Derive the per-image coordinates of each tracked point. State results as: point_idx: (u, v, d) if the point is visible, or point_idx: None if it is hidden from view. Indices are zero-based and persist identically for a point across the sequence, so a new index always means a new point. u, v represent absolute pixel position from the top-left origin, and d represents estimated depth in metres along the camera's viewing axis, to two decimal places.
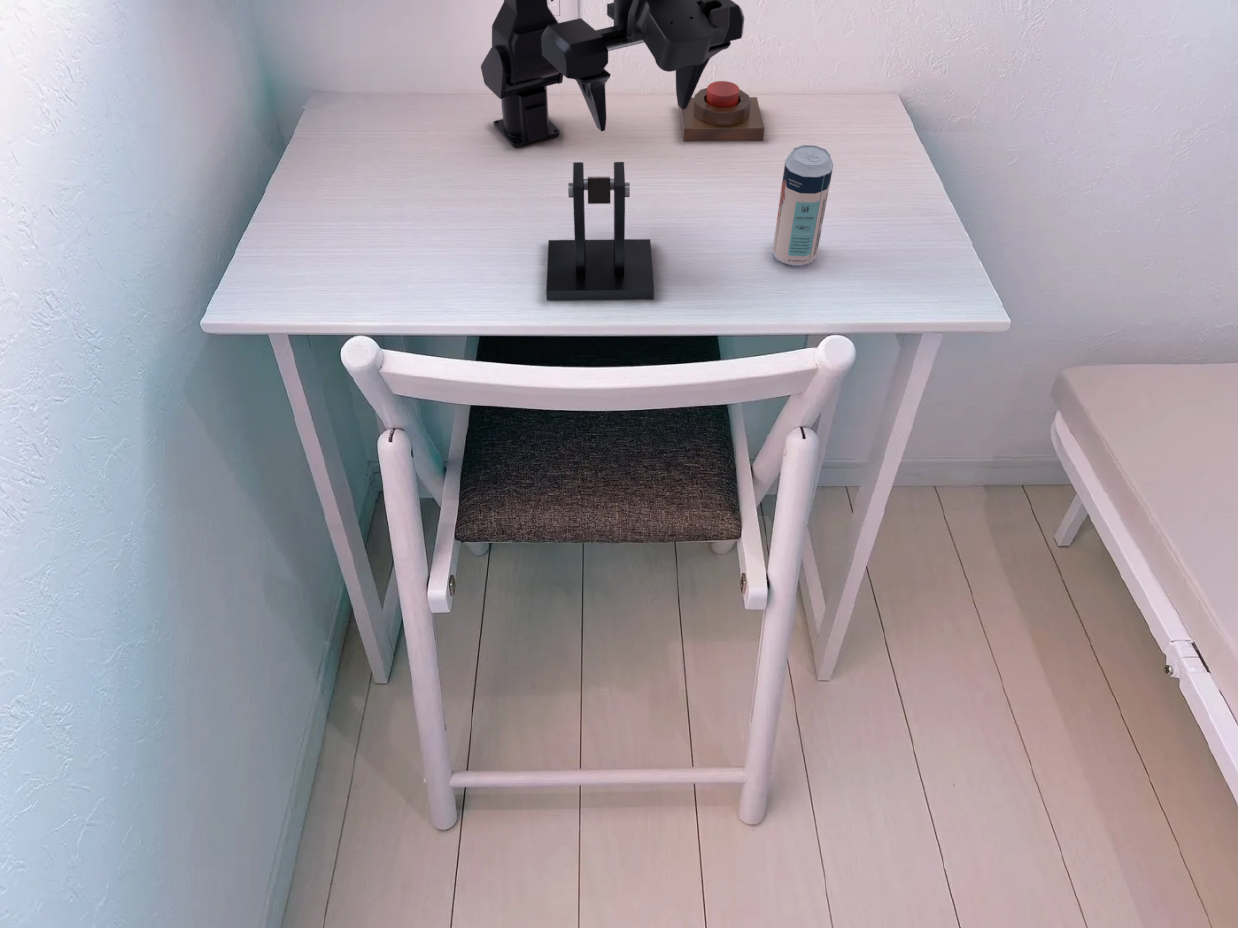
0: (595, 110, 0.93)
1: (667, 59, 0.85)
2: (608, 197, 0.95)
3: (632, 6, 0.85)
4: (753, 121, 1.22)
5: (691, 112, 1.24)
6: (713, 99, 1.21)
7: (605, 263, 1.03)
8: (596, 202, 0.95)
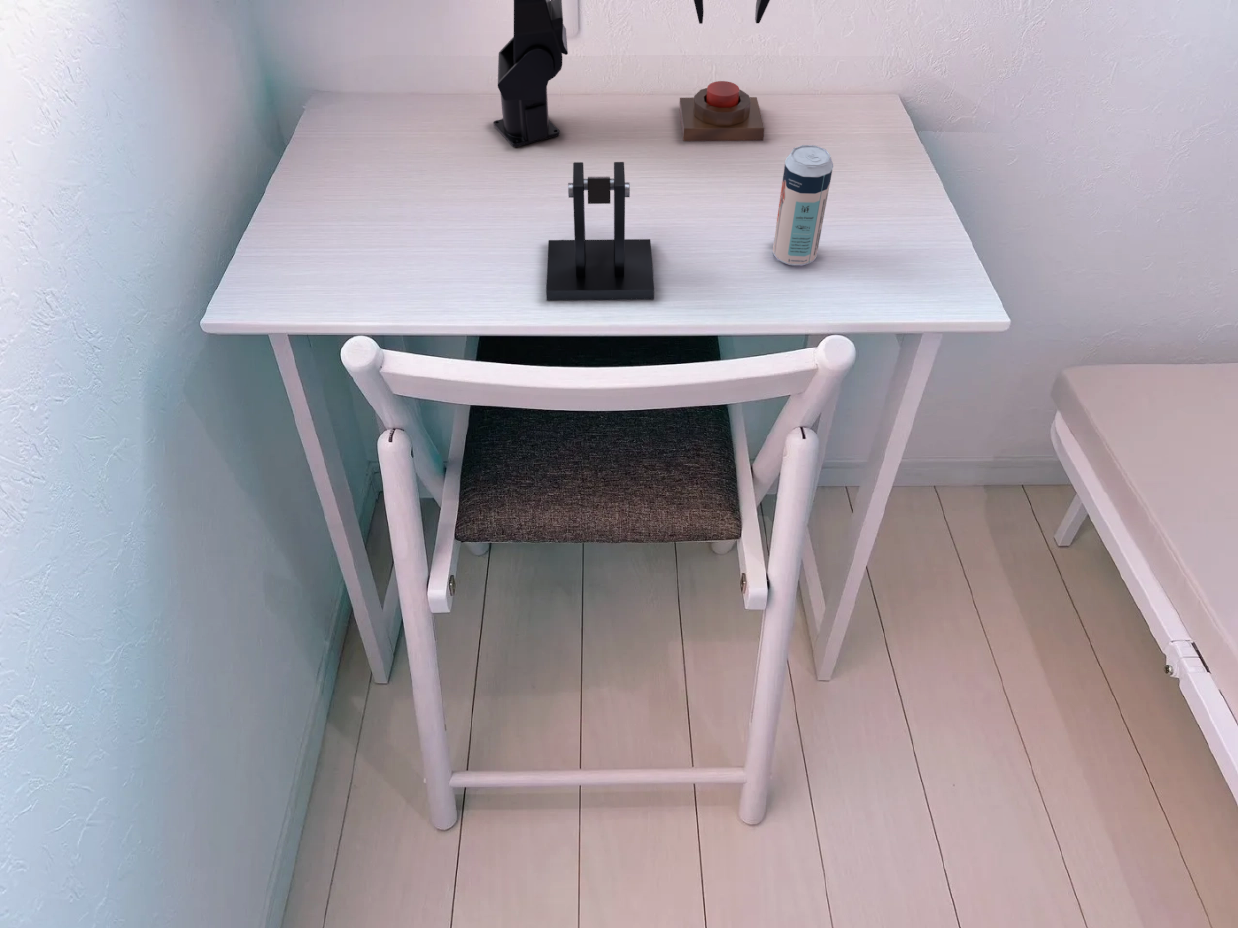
0: None
1: None
2: (608, 197, 0.95)
3: None
4: (753, 121, 1.22)
5: (691, 112, 1.24)
6: (713, 99, 1.21)
7: (605, 263, 1.03)
8: (596, 202, 0.95)
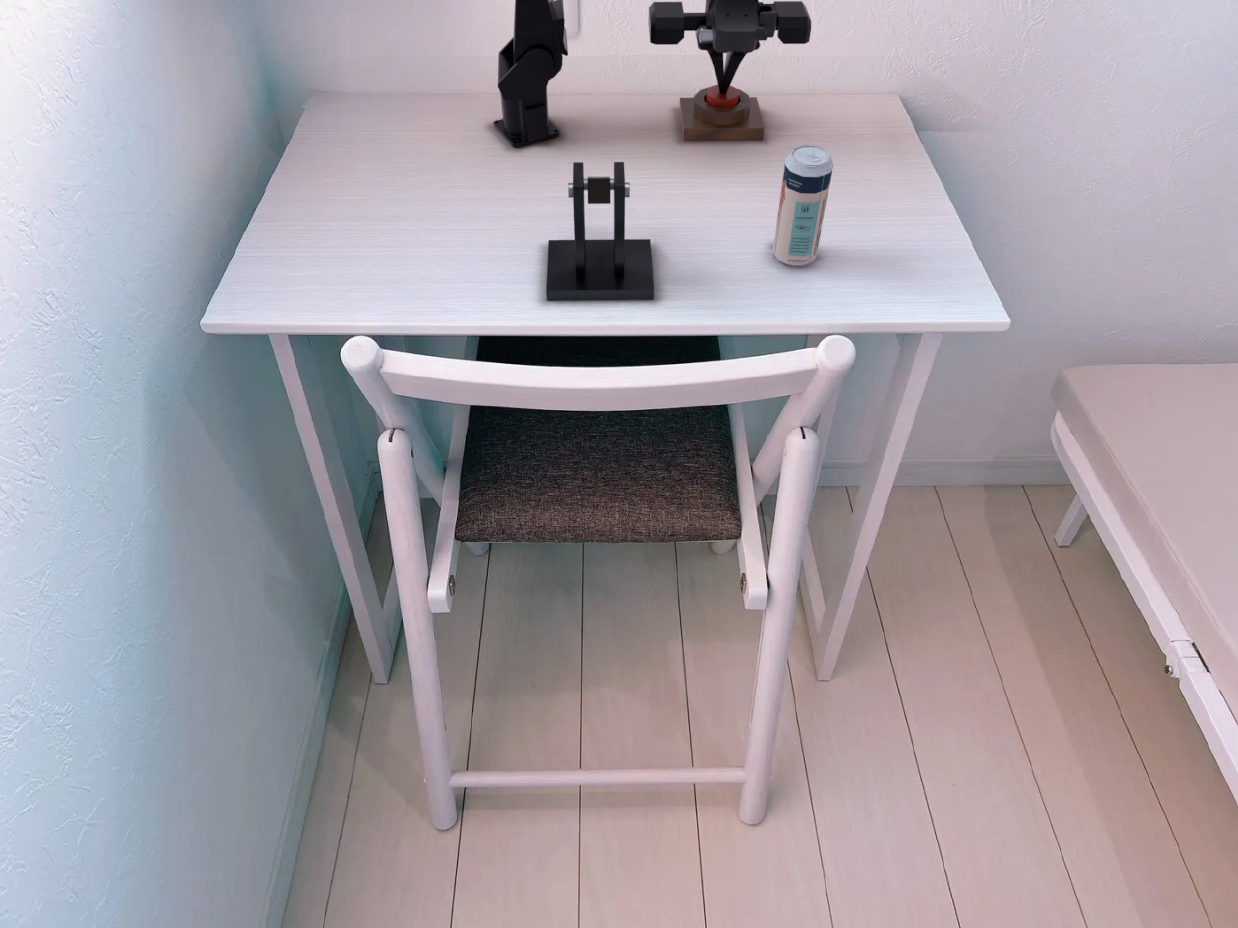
0: None
1: (717, 42, 1.10)
2: (608, 197, 0.95)
3: None
4: (753, 121, 1.22)
5: (691, 112, 1.24)
6: (712, 103, 1.21)
7: (605, 263, 1.03)
8: (596, 202, 0.95)
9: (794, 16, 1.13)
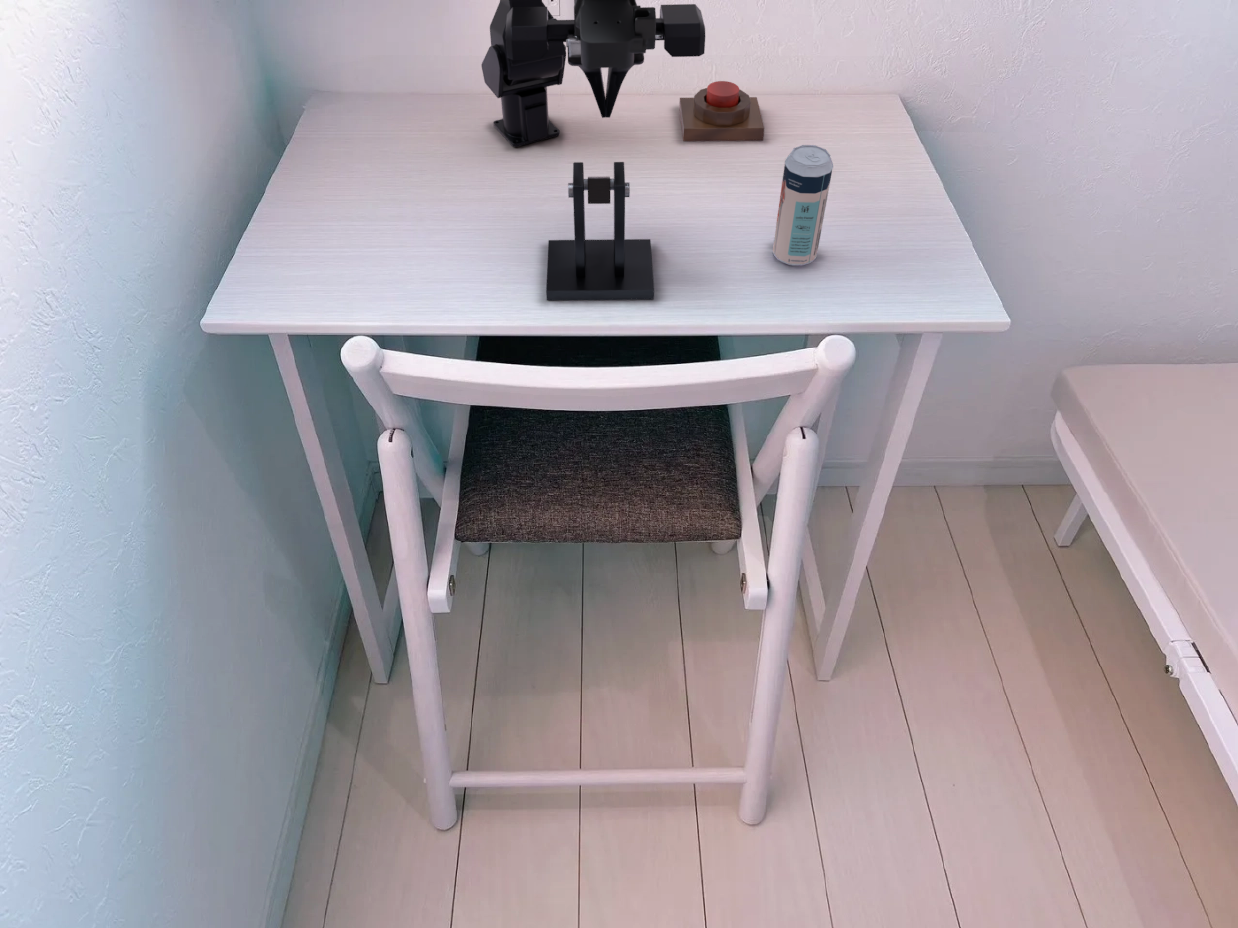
0: (594, 95, 0.98)
1: (584, 56, 0.88)
2: (608, 197, 0.95)
3: (575, 2, 0.89)
4: (753, 121, 1.22)
5: (691, 112, 1.24)
6: (713, 99, 1.21)
7: (605, 263, 1.03)
8: (596, 202, 0.95)
9: (683, 22, 0.91)
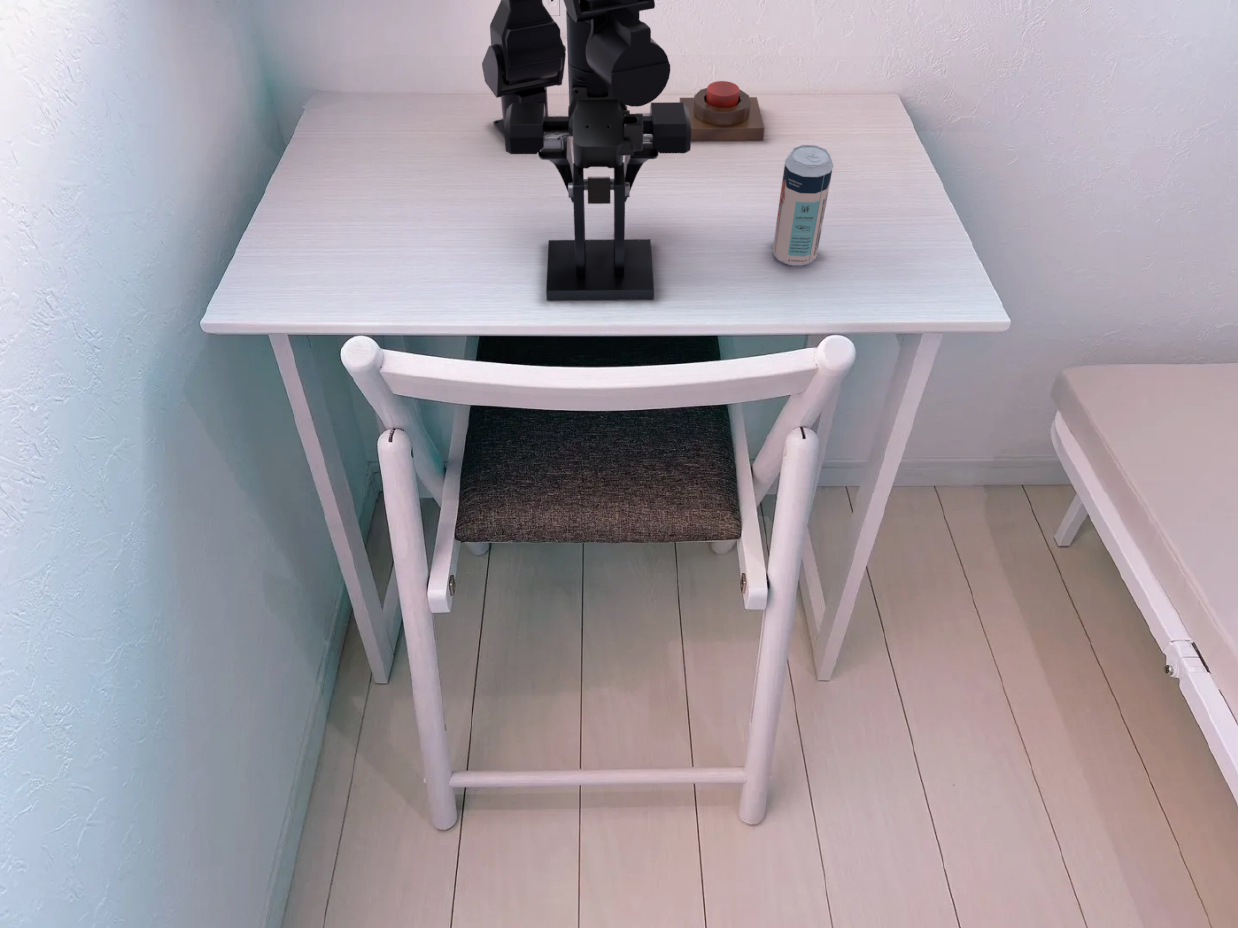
0: (565, 183, 1.04)
1: (576, 157, 0.94)
2: (608, 197, 0.95)
3: (569, 104, 0.95)
4: (753, 121, 1.22)
5: (691, 112, 1.24)
6: (713, 99, 1.21)
7: (605, 263, 1.03)
8: (596, 202, 0.95)
9: (671, 122, 0.98)
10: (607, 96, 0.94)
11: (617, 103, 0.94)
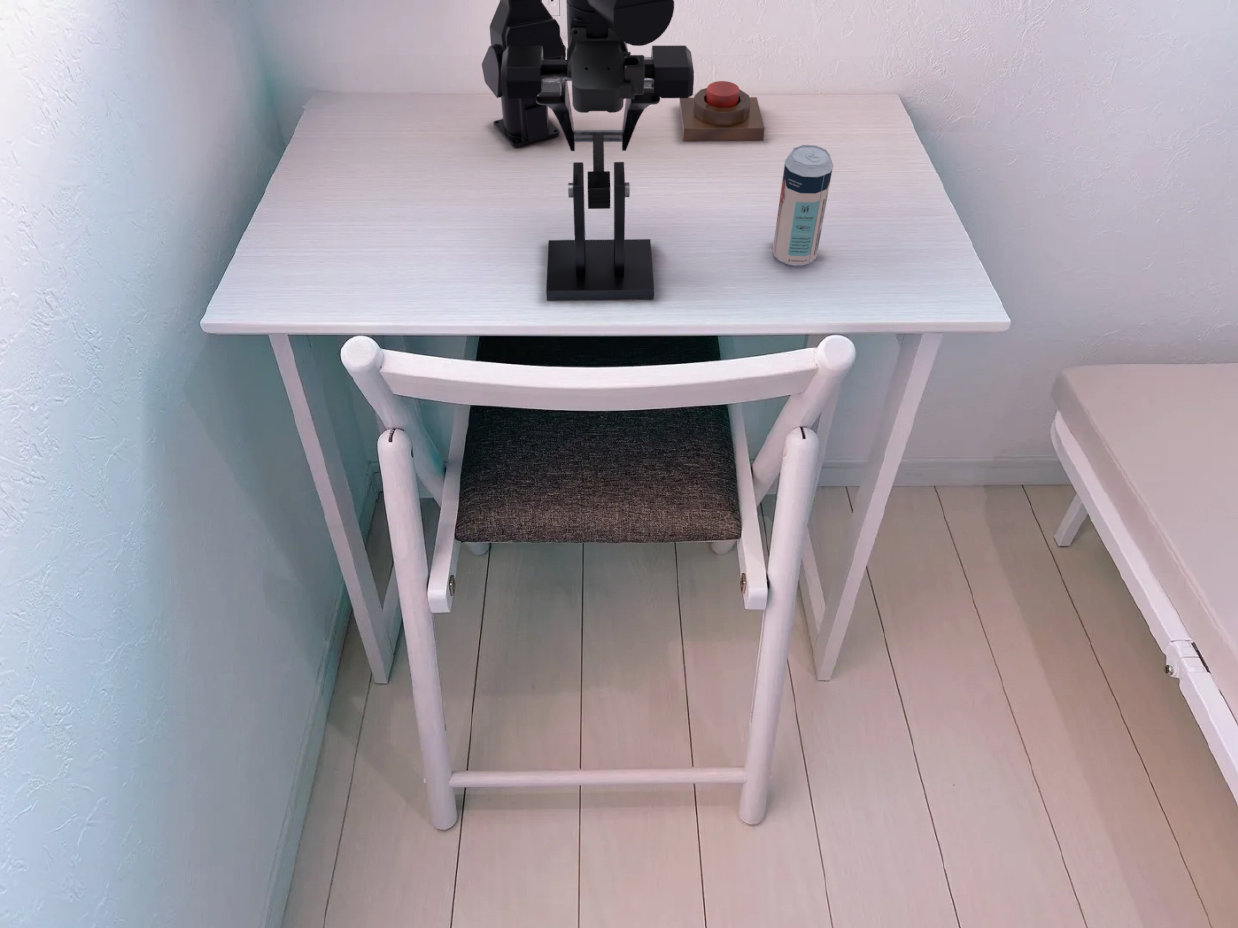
0: (563, 130, 1.01)
1: (575, 101, 0.91)
2: (608, 204, 0.96)
3: (568, 46, 0.92)
4: (753, 121, 1.22)
5: (691, 112, 1.24)
6: (713, 99, 1.21)
7: (605, 263, 1.03)
8: (596, 207, 0.96)
9: (673, 66, 0.94)
10: (607, 37, 0.91)
11: (617, 44, 0.91)
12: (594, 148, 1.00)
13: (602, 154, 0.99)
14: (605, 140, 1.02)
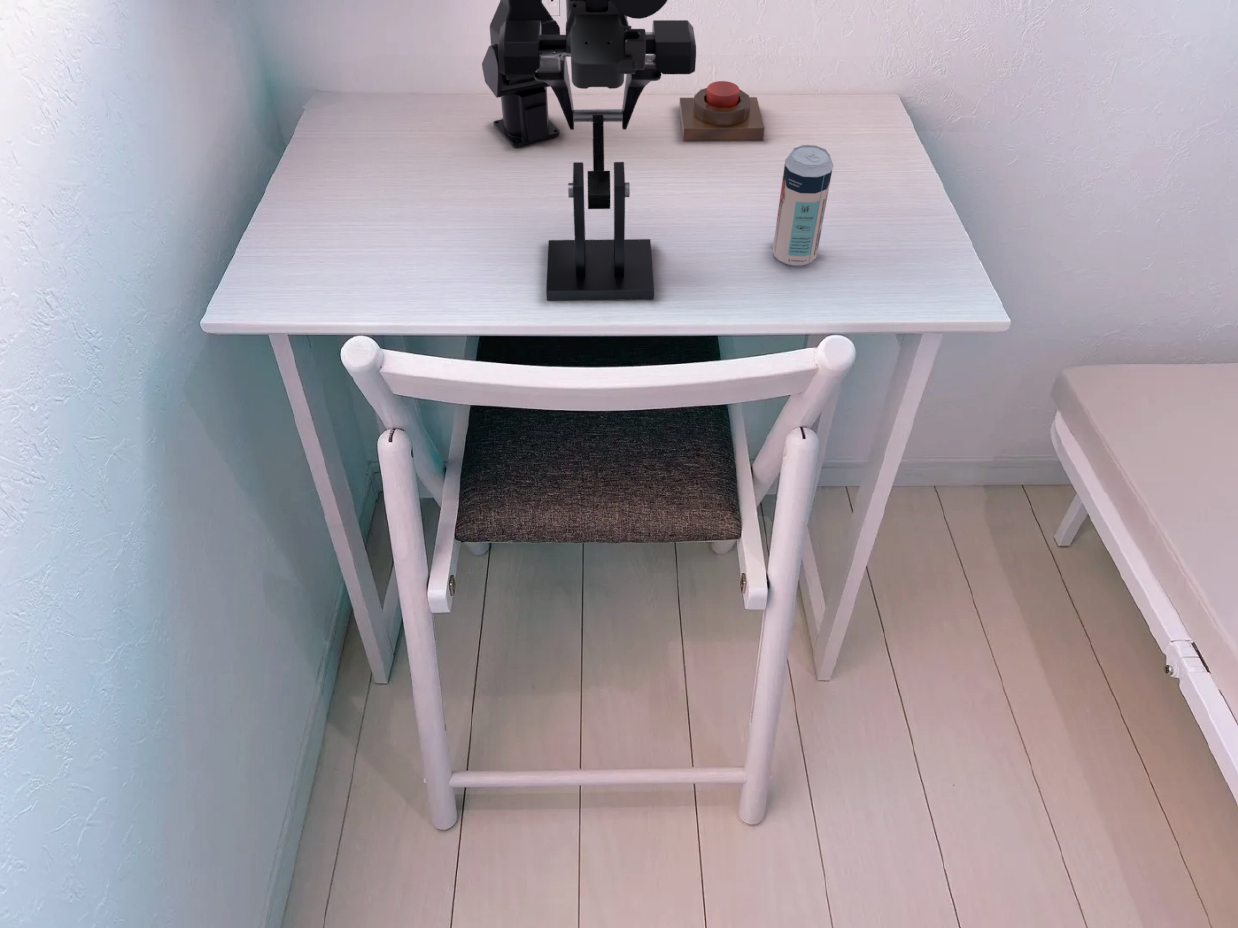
0: (562, 108, 0.98)
1: (574, 76, 0.89)
2: (608, 205, 0.96)
3: (567, 20, 0.90)
4: (753, 121, 1.22)
5: (691, 112, 1.24)
6: (713, 99, 1.21)
7: (605, 263, 1.03)
8: (596, 208, 0.97)
9: (674, 41, 0.92)
10: (607, 10, 0.89)
11: (618, 18, 0.89)
12: (594, 135, 0.98)
13: (602, 143, 0.98)
14: (605, 121, 0.99)
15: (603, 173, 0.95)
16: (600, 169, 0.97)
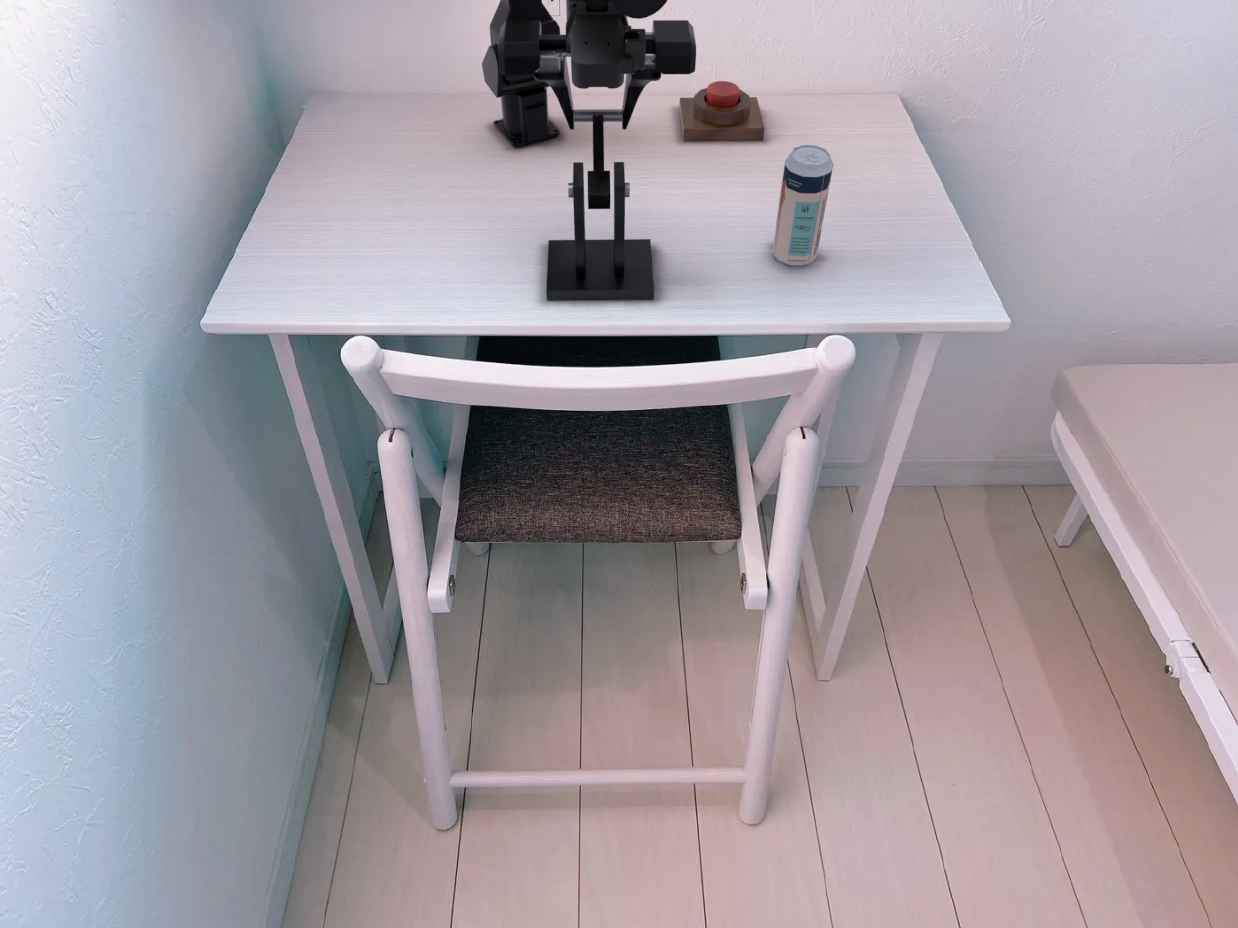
0: (562, 108, 0.98)
1: (574, 76, 0.89)
2: (608, 205, 0.96)
3: (567, 20, 0.90)
4: (753, 121, 1.22)
5: (691, 112, 1.24)
6: (713, 99, 1.21)
7: (605, 263, 1.03)
8: (596, 208, 0.97)
9: (674, 41, 0.92)
10: (607, 10, 0.89)
11: (618, 18, 0.89)
12: (594, 135, 0.98)
13: (602, 143, 0.98)
14: (605, 121, 0.99)
15: (603, 173, 0.95)
16: (600, 169, 0.97)
